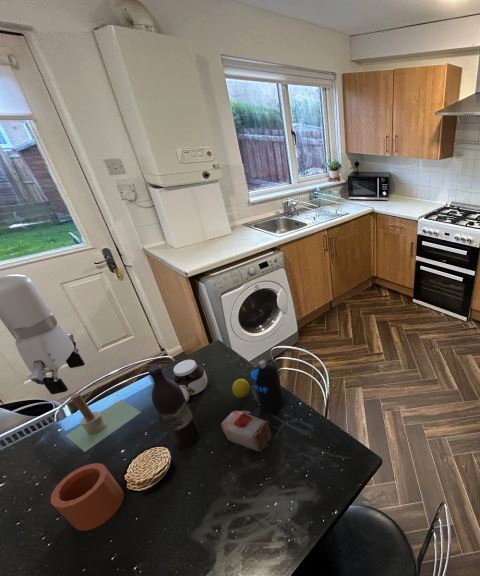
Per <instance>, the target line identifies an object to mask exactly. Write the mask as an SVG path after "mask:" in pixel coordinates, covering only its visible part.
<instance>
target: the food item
mask: <svg viewBox="0 0 480 576" xmlns="http://www.w3.org/2000/svg"><path fill="white" fill-rule="evenodd" d="M251 414H252V412H250V411H249V410H245V409H244V410H234V411H232V412H231V413H230V414H228V415H227V416H226V417H225V418H224V420H223V421H222V422H221V424H220V425H221V429H222V431H223V433H224V435H225V436H226V439H227V441H229V442H231V443H233V444H236V445H240V446H242V447H244V448H248V449H251V450H252V451H255V452H260V453H261V452H262V451H263V450H264V449H265V448H266V446H267V445H268V443H269V442H270V440H271V439H272V433H271V429H270V425H269V422H268V420H264V419H262V418H259V417H256V416H254V415H251Z"/></svg>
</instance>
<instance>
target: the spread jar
mask: <svg viewBox="0 0 480 576" xmlns="http://www.w3.org/2000/svg"><path fill="white" fill-rule="evenodd" d="M171 381H173V382H175V383H177V384H178V386H179V387H180V388H181V390H182V392H183V394H184V396H185V399H186V401H187V402H188V401H189V399H190V398H192V397H196V396H198V395H200V394H201V393H203V392H204V390H205V389H206V388H207V386H208V376H207V373H206V370H205V368H204V367H203V366H202V365H201V364H197V362H196V360H193V359H185V360H182V361H180V362H178V363H177V364H175V366H174V367H173V375H172V378H171Z"/></svg>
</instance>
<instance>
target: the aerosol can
mask: <svg viewBox="0 0 480 576" xmlns="http://www.w3.org/2000/svg"><path fill="white" fill-rule="evenodd" d="M250 377H251V379H252V381H253V385H254V389H255V392H256V396H257V398H258V403H259V409H260V411H261V412H262V413H263V414H266V415H272V414H275V413H277V412H279V411H280V410H281V409H283V407H284V406H285V398H284V396H283V391H282V387H281V383H280V378H279V373H278V366H277V365H276V364H274V363H272V362H266V360H265V359H261V360H259V361H258V365H256V366H255V367H254V368H253V369H252V371H251V373H250Z"/></svg>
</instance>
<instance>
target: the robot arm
mask: <svg viewBox="0 0 480 576" xmlns="http://www.w3.org/2000/svg"><path fill="white" fill-rule="evenodd" d="M0 320H1V322H2V324H3V325H4V326H5V328H6V329H7V331H9V333H10V334H11V336H12V337H13V338H14V340H15V346H16V349H17V352H18V353H19V356H20V358H21V359H22V361H23V362H24V364H25V366H26V367H27V369H28V371H29V372H30V373H31V375H30V381H31V382H34V383H36V384H37V385H41V386H43V385H44V387H45V388H46V390H47V391H48V392H49V394H51V395H58V394H62V393H66V392H68V390H69V388H68V387H67V385H66V383H65V382H64V381H63V379H62V378H61V377H60V378H59V371H58V370H60V369H61V368H62V367H63V365H64V364H65V363H66V364H67V366H68V368H69V369H74V368H75V369H76V368H79V367H83V366H85V363H86V362H85V361H84V360H83V357H82V356H81V354H80V353H79V349H78V348H77V342H76V341H75V337H74V334H73V333H70V334H69V333H67V331H66V330H64V328H63V327H62V325H60V323H59V321H57V319H56V317H55V316H54V314H53V312H52V311H51V309H50V307H49V306H48V304H47V303H46V301H45V300H44V298H43V296H42V294H41V293H40V291H39V290H38V288H37V287H36V284H35V283H34V282H33V281H32V279H31V278H30V277H28V276H26V275H24V274H9V275H3V276H0ZM48 373H49V374H50V373H51V376H47V374H48Z"/></svg>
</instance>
